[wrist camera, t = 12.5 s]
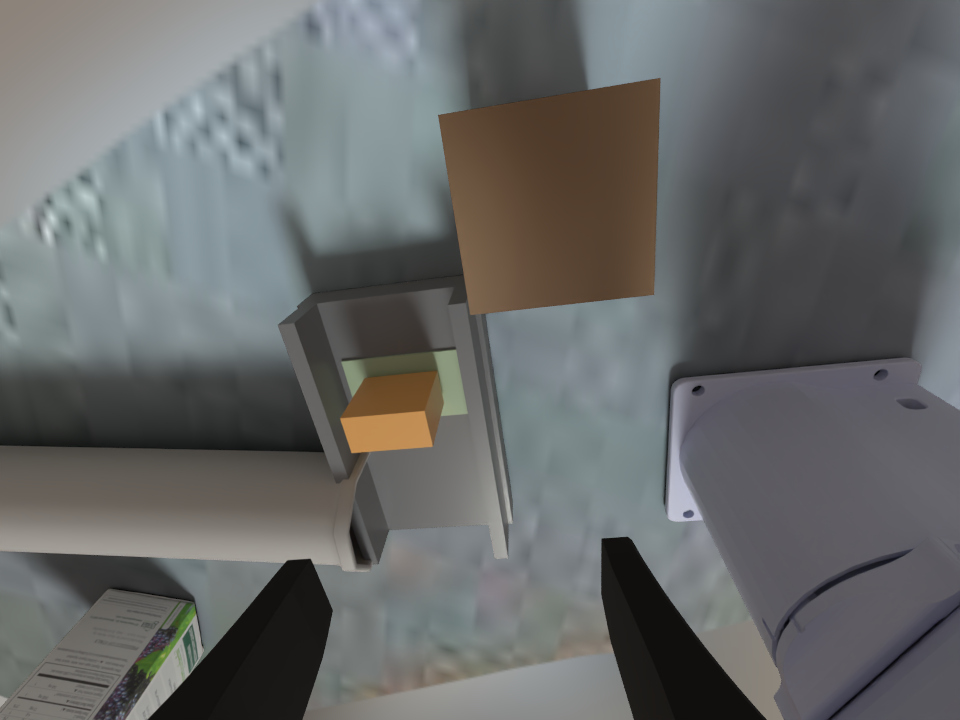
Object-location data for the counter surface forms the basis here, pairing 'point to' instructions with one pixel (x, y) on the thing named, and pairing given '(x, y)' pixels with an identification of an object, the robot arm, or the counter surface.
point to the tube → (178, 504)
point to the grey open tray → (402, 350)
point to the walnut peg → (556, 197)
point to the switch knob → (394, 412)
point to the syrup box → (113, 662)
